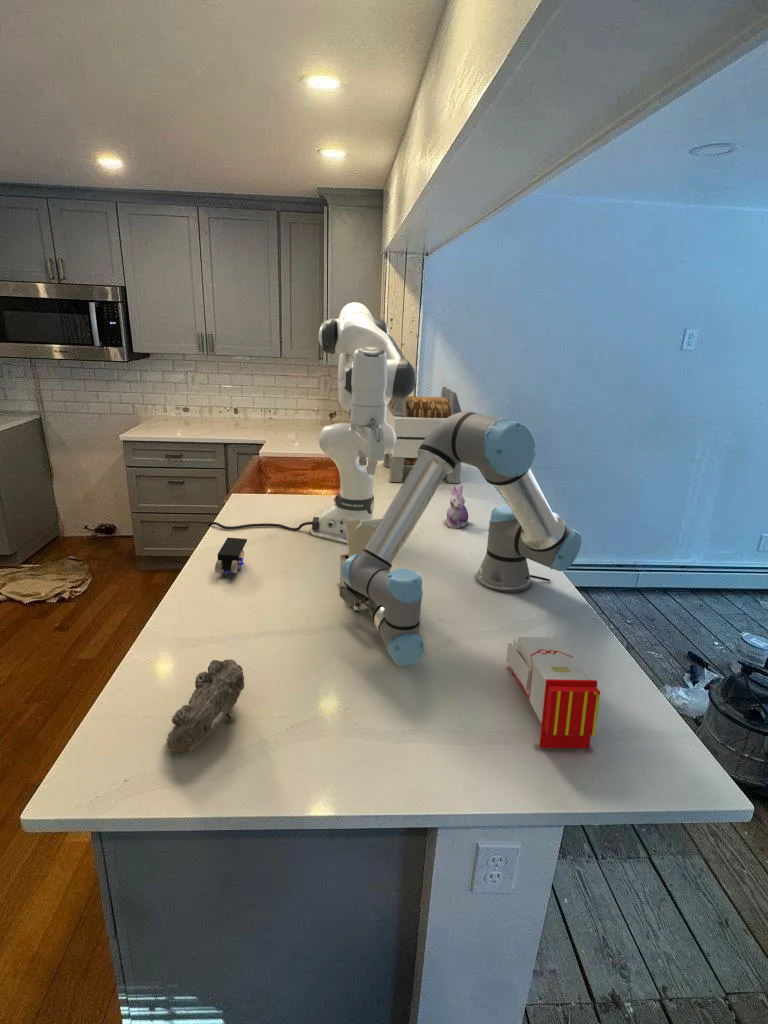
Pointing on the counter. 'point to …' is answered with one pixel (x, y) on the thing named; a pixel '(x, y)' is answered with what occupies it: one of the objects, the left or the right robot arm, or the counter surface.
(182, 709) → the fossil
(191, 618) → the counter surface
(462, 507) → the figurine
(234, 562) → the figurine character
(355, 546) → the lid
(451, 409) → the grey boxy piece
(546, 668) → the toy
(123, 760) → the counter surface
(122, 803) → the counter surface
